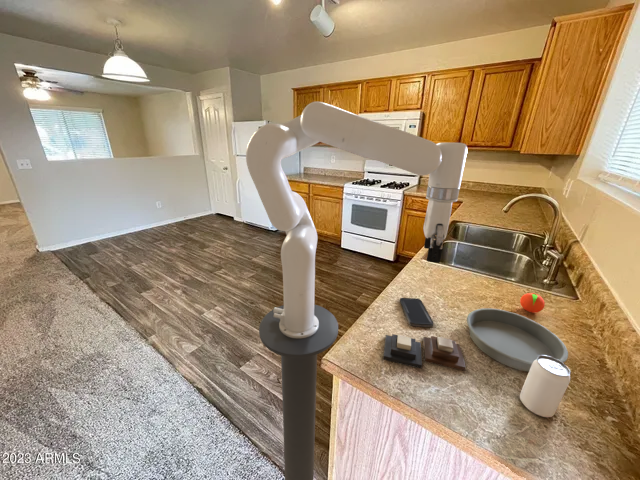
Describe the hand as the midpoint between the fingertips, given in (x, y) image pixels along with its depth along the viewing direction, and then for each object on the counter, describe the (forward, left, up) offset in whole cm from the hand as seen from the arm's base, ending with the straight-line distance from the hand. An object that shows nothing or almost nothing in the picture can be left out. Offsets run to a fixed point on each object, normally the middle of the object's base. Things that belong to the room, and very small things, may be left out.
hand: (431, 254), depth 74 cm
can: (+26, -17, -27) cm, 41 cm away
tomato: (+40, +26, -27) cm, 55 cm away
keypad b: (+7, -7, -27) cm, 29 cm away
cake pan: (+27, +4, -27) cm, 39 cm away
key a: (-4, -10, -24) cm, 27 cm away
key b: (+7, -7, -25) cm, 26 cm away
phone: (0, +11, -27) cm, 29 cm away
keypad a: (-4, -10, -27) cm, 29 cm away
